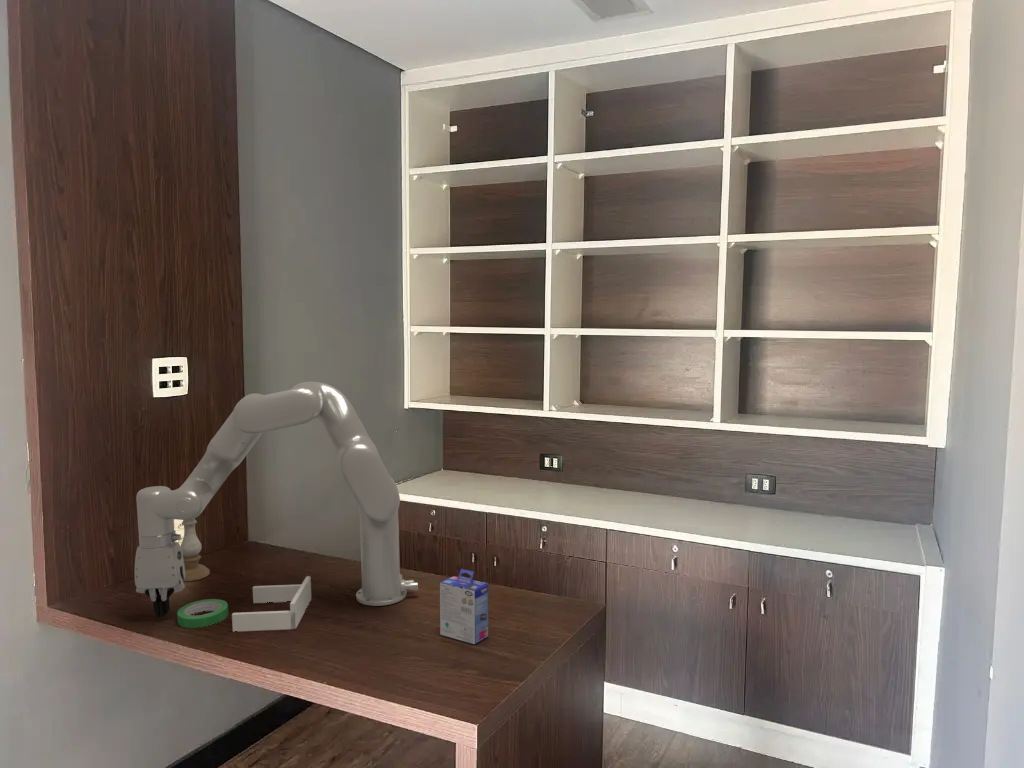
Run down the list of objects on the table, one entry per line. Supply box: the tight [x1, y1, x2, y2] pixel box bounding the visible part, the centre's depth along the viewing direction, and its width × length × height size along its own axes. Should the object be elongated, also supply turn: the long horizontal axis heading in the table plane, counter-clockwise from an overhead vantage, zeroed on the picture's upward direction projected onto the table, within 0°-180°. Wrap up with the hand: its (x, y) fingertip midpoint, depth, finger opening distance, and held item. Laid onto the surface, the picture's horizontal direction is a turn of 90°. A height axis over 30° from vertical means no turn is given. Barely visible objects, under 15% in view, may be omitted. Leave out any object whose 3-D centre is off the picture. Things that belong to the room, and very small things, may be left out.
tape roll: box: [176, 598, 229, 629], centre depth 170 cm, size 11×11×3 cm
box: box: [231, 575, 312, 632], centre depth 171 cm, size 14×17×6 cm
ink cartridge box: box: [439, 568, 489, 645], centre depth 158 cm, size 10×6×14 cm, turn 58°
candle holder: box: [180, 518, 211, 582], centre depth 196 cm, size 9×9×20 cm
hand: (162, 615), depth 169 cm, fingers closed
